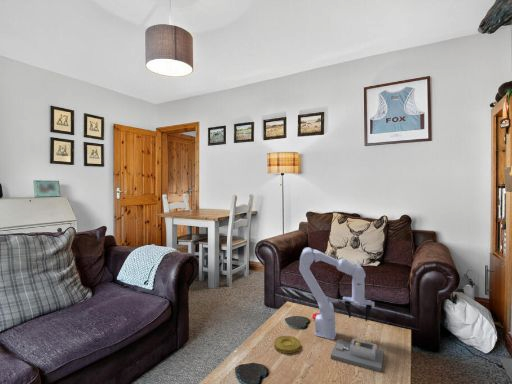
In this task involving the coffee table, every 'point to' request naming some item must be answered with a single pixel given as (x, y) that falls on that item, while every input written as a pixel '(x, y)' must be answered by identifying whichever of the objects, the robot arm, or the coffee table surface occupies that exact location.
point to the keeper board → (356, 360)
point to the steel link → (363, 349)
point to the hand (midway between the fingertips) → (358, 318)
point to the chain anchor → (341, 347)
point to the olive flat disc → (287, 344)
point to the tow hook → (316, 314)
